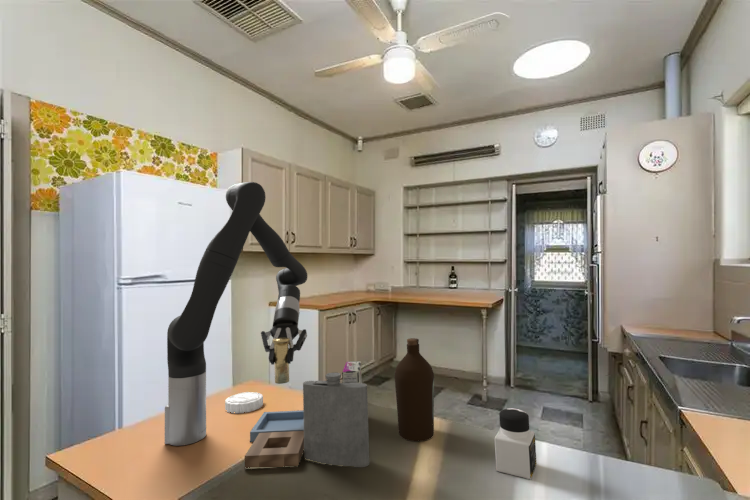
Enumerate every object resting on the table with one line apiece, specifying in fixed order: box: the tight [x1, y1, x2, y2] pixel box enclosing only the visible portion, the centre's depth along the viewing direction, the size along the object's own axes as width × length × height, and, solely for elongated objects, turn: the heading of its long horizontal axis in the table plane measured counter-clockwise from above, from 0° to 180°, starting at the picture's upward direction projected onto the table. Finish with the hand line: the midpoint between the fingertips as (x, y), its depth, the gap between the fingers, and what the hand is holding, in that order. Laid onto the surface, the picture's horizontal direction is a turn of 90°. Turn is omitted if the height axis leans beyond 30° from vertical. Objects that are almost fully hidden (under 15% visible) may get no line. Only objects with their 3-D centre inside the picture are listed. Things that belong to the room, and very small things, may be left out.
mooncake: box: [224, 391, 264, 414], centre depth 123 cm, size 12×12×4 cm
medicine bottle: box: [494, 407, 538, 480], centre depth 80 cm, size 7×7×12 cm
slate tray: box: [249, 409, 304, 443], centre depth 103 cm, size 14×14×2 cm
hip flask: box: [302, 372, 370, 468], centre depth 85 cm, size 16×4×20 cm, turn 75°
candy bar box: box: [341, 360, 363, 383], centre depth 107 cm, size 11×5×16 cm, turn 179°
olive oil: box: [394, 337, 435, 442], centre depth 99 cm, size 11×11×25 cm
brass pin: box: [272, 337, 290, 385], centre depth 105 cm, size 5×5×12 cm
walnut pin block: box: [244, 431, 304, 468], centre depth 88 cm, size 12×12×3 cm
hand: (280, 362), depth 103 cm, fingers closed on brass pin, 4 cm apart
